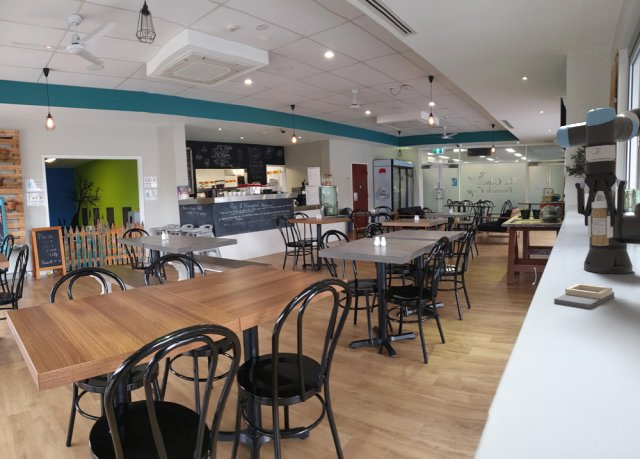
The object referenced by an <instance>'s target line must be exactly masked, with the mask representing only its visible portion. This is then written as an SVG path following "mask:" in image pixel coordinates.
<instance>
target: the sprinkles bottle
mask: <svg viewBox="0 0 640 459" xmlns="http://www.w3.org/2000/svg"><path fill="white" fill-rule="evenodd" d="M591 208H592V245H598V246H605V245H609V238H607V216H609V209H608V206H607V202H606V200H605V201H604V200H603V201H602V200H600V201H594V202H592V204H591Z"/></svg>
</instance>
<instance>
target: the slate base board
mask: <svg viewBox="0 0 640 459" xmlns="http://www.w3.org/2000/svg"><path fill="white" fill-rule="evenodd" d="M564 291H565V293H564V294H562V295H560V296H557V297H555V298H553V303H554V304H556V305H557V304H558V305H564V306H569V307H576V308H581V309H587V310H591V309H593V308H595V307H597V306H599V305H601V304H602V303H604V302H606V301H608V300H610V299H612V298H614V296H615V292H614V291H613V287H608V286H607V287H606V286H600V285H591V284H584V283H583V284H582V283H576V284H574V285H572V286H569V287H567V288H565V290H564Z"/></svg>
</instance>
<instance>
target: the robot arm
mask: <svg viewBox="0 0 640 459" xmlns="http://www.w3.org/2000/svg"><path fill="white" fill-rule="evenodd" d="M635 137H638V138H639V137H640V106H639V107H635V108H632V109H629V110H627V111H622V112H619V113H617V112H616V108H614V107H601V108H595V109H591V110H588V112H586V116H585V122H580V123H579V122H578V123H574V124H567V125H564V126H560V127H559V128H558V129H557V131H556V134H555V138H556V139H555V140H556V143H557V145H558V146H559V147H561V148H563V149H565V148H574V147H582V146H585V161H587V162H586V163H585V178H584V179H583V180H582V181H580V182H575V184H574V186H575V188H576V194H577V195H576V196H577V197H576V198H577V200H576V201H577V214H580V215H581V216H582V215H583V217H584V225H585V226H584V227H587V237H588V238H589V240H588V242H589V243H588V245H589V246H588V247H589V248H588V252H587V253H586V257H585V258H584V259H585V260H584V262H583V270H585V271H588V272H592V273H600V274H615V275H616V274H619V275H620V274H628V273H629V272H630V273H633V267H634V266H633V263H632V260H631V257H630V255H629V253H628V245H640V202H639V201H638V202H637V203H636V204H635V206H634V210H632V211H631V210H630V211H629V209H628V207H626V206H625V204H626V203H625V201H626V187H627V185H628V180H625V179H620V178H618V177H617V175H616V160H614V159H616V158H617V154H616V152H617V151H616V143H621V142H622V143H623V142H624V143H625V142H628V141H631V140H632V139H634V138H635ZM615 184H616V187H617V191H616V192H617V194H616V195H617V197H616V200H617V201H616V204H615V199H614V196H613V195H614V194H613V189H612V188H613V187H614V185H615ZM586 186H587V187H588V188H589V191H588V197H587V200H586V201H585V199H586V198H585V188H586ZM598 192H603V195H604V198H605V201H606V202H607V206H608V209H609V216H607V238H609V245H605V246H598V245H592V208H591V204H592V202H596V201H595V200H596V198H597V194H598Z"/></svg>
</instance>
